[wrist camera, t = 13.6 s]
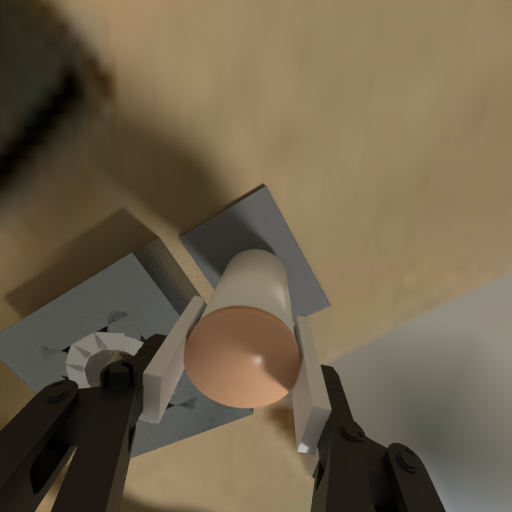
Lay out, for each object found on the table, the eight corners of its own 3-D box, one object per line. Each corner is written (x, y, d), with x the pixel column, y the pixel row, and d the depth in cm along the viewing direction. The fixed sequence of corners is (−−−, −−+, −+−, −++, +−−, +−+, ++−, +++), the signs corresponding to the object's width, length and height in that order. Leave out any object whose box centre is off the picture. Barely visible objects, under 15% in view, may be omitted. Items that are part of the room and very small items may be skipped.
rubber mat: (329, 303, 25) (330, 305, 25) (249, 339, 28) (249, 341, 27) (266, 185, 22) (265, 186, 22) (180, 236, 24) (178, 237, 24)
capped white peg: (298, 290, 23) (320, 385, 13) (244, 316, 24) (223, 421, 14) (267, 236, 22) (263, 292, 11) (211, 266, 23) (160, 342, 12)
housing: (256, 375, 29) (253, 413, 25) (134, 424, 34) (111, 465, 29) (159, 237, 24) (132, 252, 20) (31, 315, 29) (-17, 342, 24)
